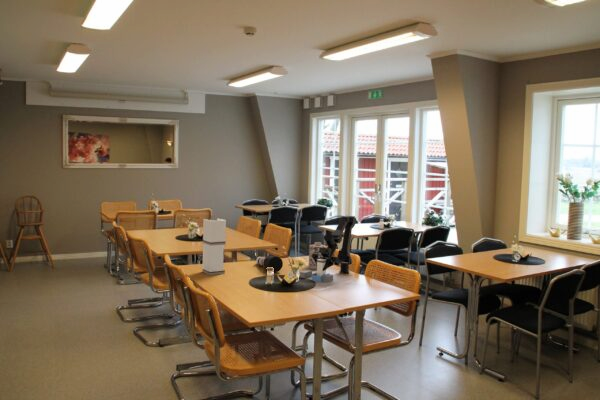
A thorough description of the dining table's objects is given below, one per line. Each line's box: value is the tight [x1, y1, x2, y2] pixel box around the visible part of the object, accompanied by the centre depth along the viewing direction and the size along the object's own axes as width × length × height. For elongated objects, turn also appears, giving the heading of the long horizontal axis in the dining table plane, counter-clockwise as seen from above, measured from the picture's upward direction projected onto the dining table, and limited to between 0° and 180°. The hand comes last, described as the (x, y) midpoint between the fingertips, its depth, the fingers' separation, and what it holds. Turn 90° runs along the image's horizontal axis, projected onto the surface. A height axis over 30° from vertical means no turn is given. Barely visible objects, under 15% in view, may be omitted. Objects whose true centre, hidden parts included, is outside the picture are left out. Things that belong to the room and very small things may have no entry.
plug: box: [316, 259, 327, 277], centre depth 320 cm, size 4×4×12 cm
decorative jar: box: [308, 241, 327, 270], centre depth 363 cm, size 12×12×18 cm
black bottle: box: [255, 255, 284, 273], centre depth 356 cm, size 10×34×10 cm, turn 23°
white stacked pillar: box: [202, 218, 227, 276], centre depth 334 cm, size 11×11×35 cm
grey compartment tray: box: [299, 269, 334, 284], centre depth 322 cm, size 20×9×5 cm, turn 53°
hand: (320, 269), depth 319 cm, fingers closed on plug, 4 cm apart
